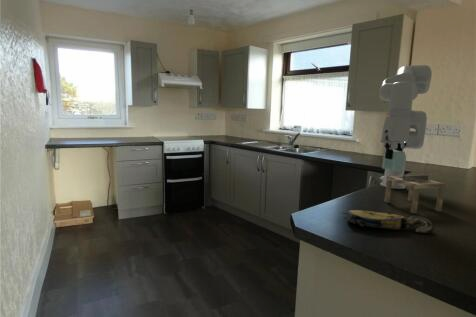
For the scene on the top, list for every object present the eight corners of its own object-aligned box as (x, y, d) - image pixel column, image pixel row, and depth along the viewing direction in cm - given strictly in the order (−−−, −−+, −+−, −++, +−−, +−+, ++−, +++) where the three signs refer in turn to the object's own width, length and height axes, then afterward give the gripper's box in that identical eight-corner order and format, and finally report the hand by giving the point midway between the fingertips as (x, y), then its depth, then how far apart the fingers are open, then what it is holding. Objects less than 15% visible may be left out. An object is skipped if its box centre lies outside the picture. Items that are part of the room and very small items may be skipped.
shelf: (384, 201, 138) (387, 171, 135) (409, 200, 142) (413, 171, 140) (413, 213, 123) (418, 180, 120) (441, 211, 127) (446, 179, 125)
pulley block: (443, 221, 96) (345, 210, 103) (442, 239, 96) (343, 227, 103) (427, 214, 109) (341, 204, 117) (425, 229, 109) (339, 219, 117)
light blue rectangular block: (381, 168, 126) (384, 149, 125) (389, 167, 127) (391, 149, 126) (394, 171, 120) (396, 152, 118) (402, 171, 121) (404, 151, 120)
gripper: (407, 113, 126) (401, 156, 129) (374, 112, 121) (369, 157, 124) (423, 114, 119) (416, 159, 122) (389, 113, 114) (383, 160, 117)
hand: (393, 158), depth 123 cm, fingers closed on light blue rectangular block, 4 cm apart
